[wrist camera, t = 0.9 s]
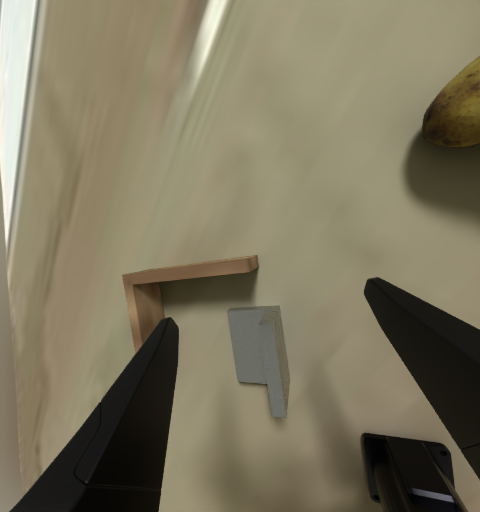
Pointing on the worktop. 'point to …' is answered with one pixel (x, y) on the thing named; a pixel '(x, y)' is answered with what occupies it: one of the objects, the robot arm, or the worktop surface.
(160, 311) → the wooden corner frame
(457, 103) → the potato
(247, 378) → the bracket
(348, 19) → the worktop surface
